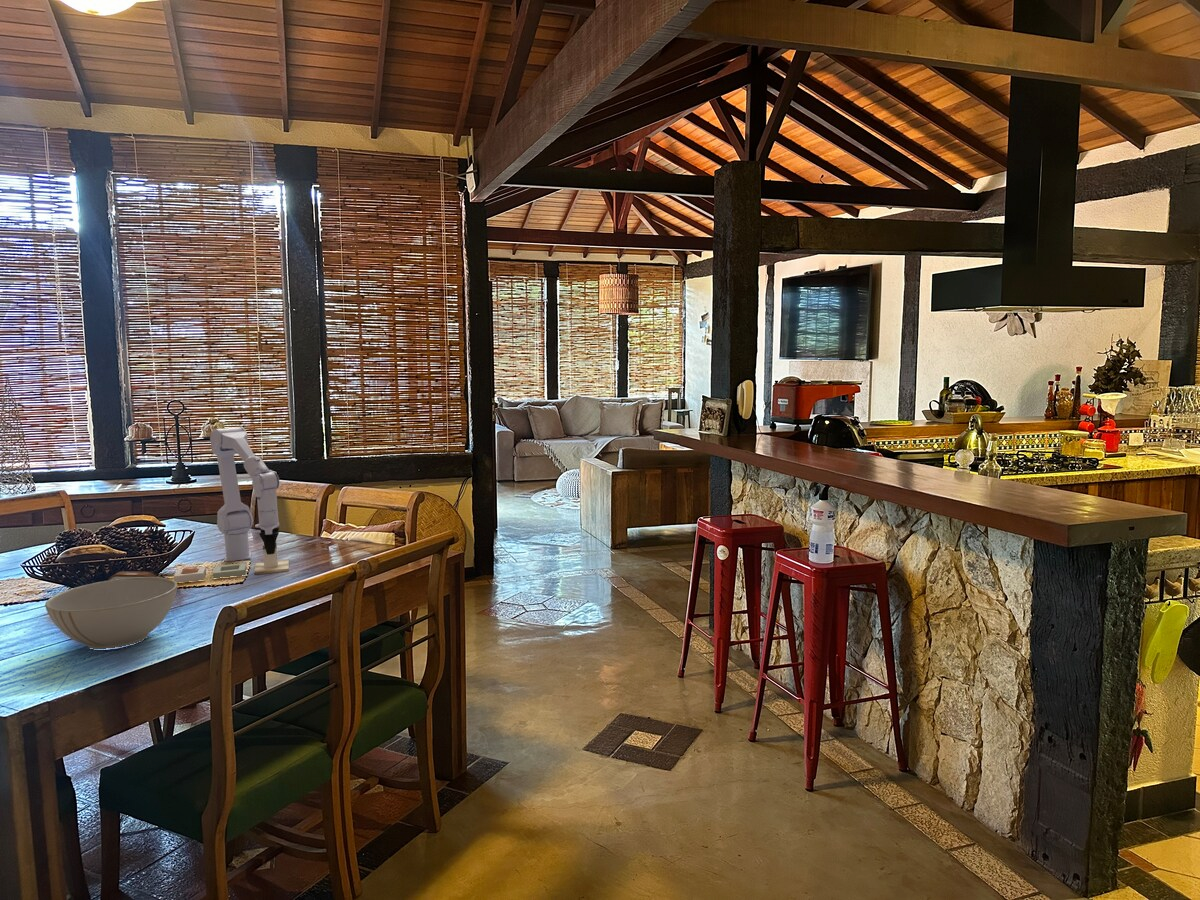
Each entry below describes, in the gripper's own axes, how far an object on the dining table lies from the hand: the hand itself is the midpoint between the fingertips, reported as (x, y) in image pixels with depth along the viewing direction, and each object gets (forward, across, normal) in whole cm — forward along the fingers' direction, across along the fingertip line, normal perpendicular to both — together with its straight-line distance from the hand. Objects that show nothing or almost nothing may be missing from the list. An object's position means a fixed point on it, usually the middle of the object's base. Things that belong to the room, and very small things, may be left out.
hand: (270, 552), depth 253 cm
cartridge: (+4, 0, 0) cm, 4 cm away
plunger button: (+5, +3, -23) cm, 24 cm away
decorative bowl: (+5, +56, -33) cm, 65 cm away
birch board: (+5, 0, 0) cm, 5 cm away
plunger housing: (+5, +3, -23) cm, 24 cm away
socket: (+5, +2, -12) cm, 13 cm away
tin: (+6, +21, -35) cm, 41 cm away
